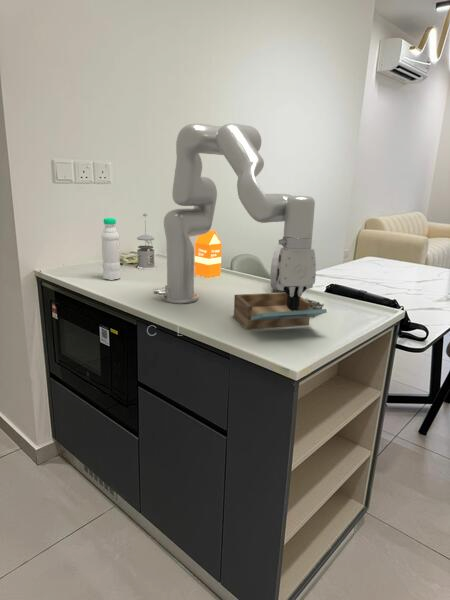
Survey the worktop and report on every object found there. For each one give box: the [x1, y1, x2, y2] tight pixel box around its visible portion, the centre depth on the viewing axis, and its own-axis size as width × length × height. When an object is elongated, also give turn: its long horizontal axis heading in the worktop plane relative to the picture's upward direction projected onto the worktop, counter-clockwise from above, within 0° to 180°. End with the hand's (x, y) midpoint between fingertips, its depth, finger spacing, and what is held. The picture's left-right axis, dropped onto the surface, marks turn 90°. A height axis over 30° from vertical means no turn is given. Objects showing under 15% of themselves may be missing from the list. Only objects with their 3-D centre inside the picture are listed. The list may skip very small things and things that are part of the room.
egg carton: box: [304, 297, 325, 318], centre depth 147 cm, size 11×8×4 cm
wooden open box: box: [233, 292, 311, 330], centre depth 138 cm, size 20×13×7 cm, turn 107°
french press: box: [136, 212, 157, 268], centre depth 206 cm, size 10×12×25 cm
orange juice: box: [194, 229, 222, 279], centre depth 193 cm, size 8×9×20 cm
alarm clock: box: [270, 242, 295, 293], centre depth 176 cm, size 21×8×20 cm, turn 155°
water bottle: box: [100, 217, 122, 279], centre depth 181 cm, size 7×7×25 cm
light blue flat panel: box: [251, 308, 328, 321], centre depth 126 cm, size 19×2×10 cm
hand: (292, 309), depth 123 cm, fingers closed
